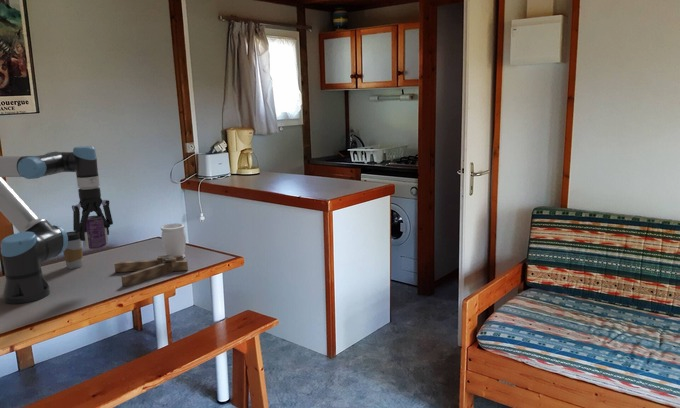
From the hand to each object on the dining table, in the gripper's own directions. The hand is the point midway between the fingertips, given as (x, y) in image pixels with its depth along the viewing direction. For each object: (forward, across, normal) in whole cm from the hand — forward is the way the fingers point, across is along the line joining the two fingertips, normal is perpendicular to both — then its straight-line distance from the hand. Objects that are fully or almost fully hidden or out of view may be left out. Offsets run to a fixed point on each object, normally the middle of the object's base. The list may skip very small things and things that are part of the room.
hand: (96, 245), depth 204 cm
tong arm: (+16, +21, -2) cm, 27 cm away
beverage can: (+1, 0, 0) cm, 1 cm away
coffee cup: (+16, +6, +33) cm, 37 cm away
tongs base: (+16, +19, -7) cm, 26 cm away
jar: (+16, +38, +5) cm, 42 cm away
